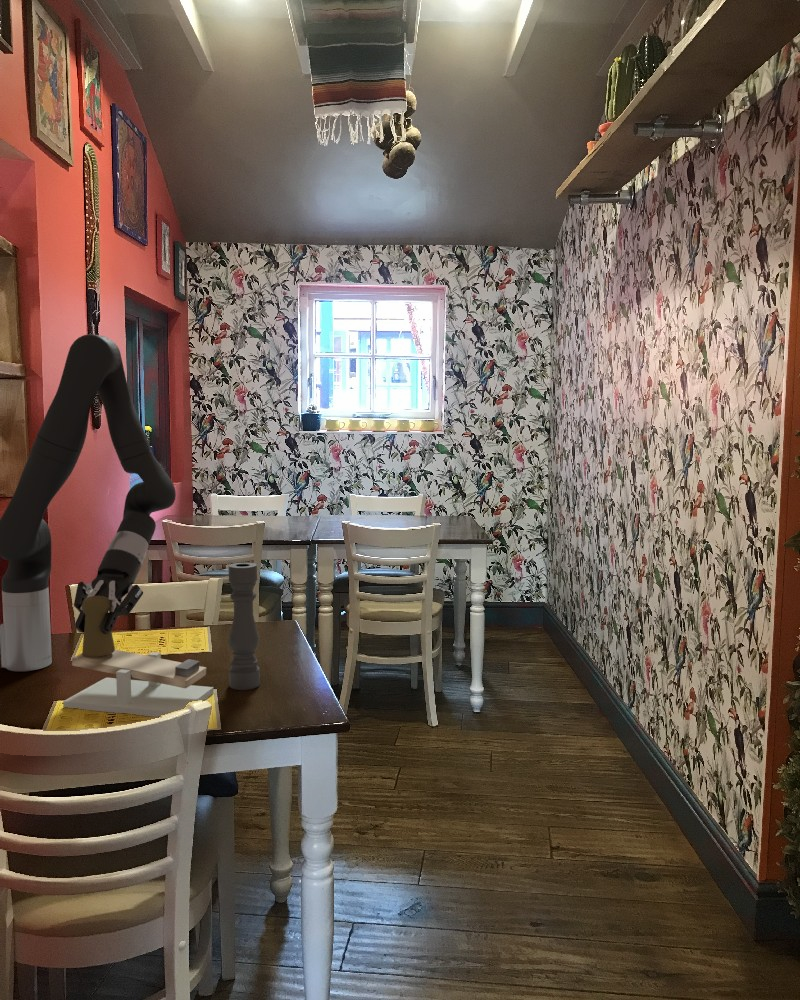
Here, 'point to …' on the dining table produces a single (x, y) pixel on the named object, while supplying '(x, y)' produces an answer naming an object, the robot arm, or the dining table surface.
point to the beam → (145, 667)
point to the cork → (96, 627)
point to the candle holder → (243, 628)
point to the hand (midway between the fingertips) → (91, 630)
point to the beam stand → (136, 695)
